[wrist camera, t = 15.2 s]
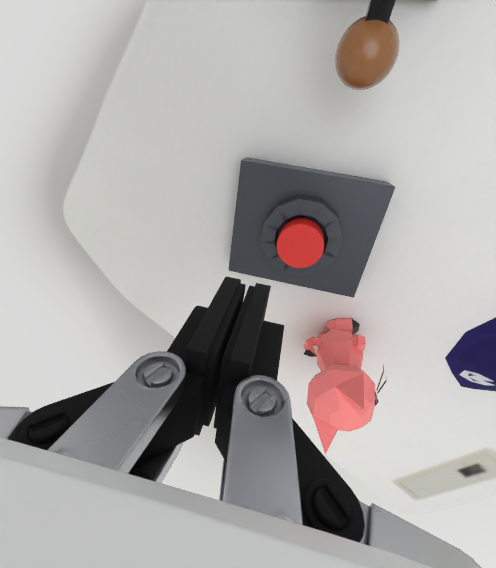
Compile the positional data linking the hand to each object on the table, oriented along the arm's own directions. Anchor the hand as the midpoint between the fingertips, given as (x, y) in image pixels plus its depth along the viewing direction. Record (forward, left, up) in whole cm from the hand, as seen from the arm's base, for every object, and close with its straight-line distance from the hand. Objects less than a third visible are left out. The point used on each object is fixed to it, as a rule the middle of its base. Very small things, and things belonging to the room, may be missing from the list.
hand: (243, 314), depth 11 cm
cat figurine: (+8, -13, -18) cm, 24 cm away
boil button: (+2, -2, -14) cm, 15 cm away
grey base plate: (+2, -2, -18) cm, 18 cm away
